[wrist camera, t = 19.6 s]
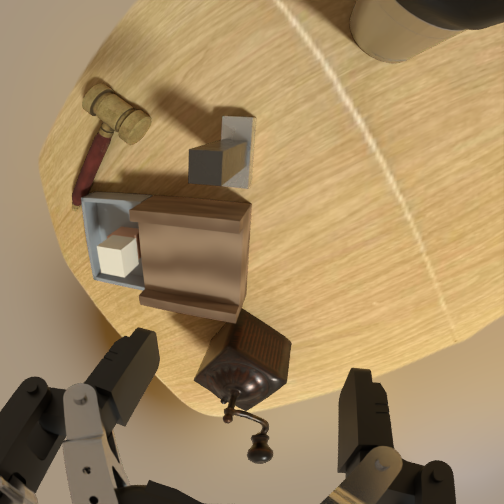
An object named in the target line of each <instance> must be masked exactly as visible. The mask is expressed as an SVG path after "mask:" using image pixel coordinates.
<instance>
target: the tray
mask: <svg viewBox="0 0 504 504" xmlns="http://www.w3.org/2000/svg"><path fill="white" fill-rule="evenodd" d="M152 196H153V195H147V194H132V193H115V192H96V191H94V192H92V193H90V194H88V195H86V196H84V197H81V202H82V210H83V218H84V226H85V233H86V239H87V246H88V252H89V257H90V263H91V268H92V273H93V278H94V280H97V281H102V282H106V283H111V284H115V285H120V286H124V287H129V288H134V289H139V290H144V289H145V284H144V276H143V267H142V258H140V259H139V260H138V262H139V264H138V265H137V266H136V267H135V268H134V269H133V270H132V271H131V272H130V273H129V274H128V275H127V276H126V277H125V278H124V277H119V276H115V275H110V274H105V273H101V269H100V263H99V257H98V251H97V246H98V245H99V244H100V243H102V242H103V241H105V240H106V239H107V236H108V235H110V234H111V233H113V232H114V231H115V230H117V229H118V228H120V227H129V228H138V229H139V226H138V222H131V221H130V215H129V210H130V209H131V208H133V207H135V206H136V205H138V204H140V203H142V202H143V201H145V200H147V199H148V198H150V197H152Z"/></svg>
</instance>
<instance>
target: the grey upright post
mask: <svg viewBox="0 0 504 504" xmlns="http://www.w3.org/2000/svg"><path fill="white" fill-rule="evenodd" d="M255 131H256V117H240V116H222V132H221V140H219V141H215V142H212V143H208V144H205V145H202V146H199V147H195V148H192V149H189V172H188V183H192V184H204V185H215V186H226V187H236V188H246V189H248V188H249V187H250V186H251V185H252V173H253V159H254V145H255Z"/></svg>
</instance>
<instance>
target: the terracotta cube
mask: <svg viewBox="0 0 504 504" xmlns="http://www.w3.org/2000/svg"><path fill="white" fill-rule="evenodd" d="M112 235H118V236H125V237H132V238H136V243H137V253H138V260H139V259H140V258H141V249H140V238H139V229H138V228H129V227H120V228H118V229H117V230H115V231H114V232H113V233H111V234H110V235H108V236H107V238H109V237H110V236H112Z"/></svg>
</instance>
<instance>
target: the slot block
mask: <svg viewBox="0 0 504 504" xmlns="http://www.w3.org/2000/svg"><path fill="white" fill-rule="evenodd" d="M251 207H252V204H248V203H239V202H229V201H219V200H208V199H197V198H186V197H174V196H161V195H154V196H152V197H150V198H148V199H147V200H145V201H143V202H142V203H140V204H138V205H136V206H135V207H133V208H131V209H130V210H129V215H130V221H131V222H138V226H139V238H140V249H141V258H142V267H143V276H144V284H145V289H144V290H143V292H142V293H141V294H140V295H139V300H140V305H144V306H149V307H153V308H158V309H163V310H167V311H172V312H177V313H182V314H187V315H192V316H197V317H203V318H208V319H213V320H219V321H225V322H230V323H236V321H237V318H238V316H239V313H240V310H241V308H242V305H243V302H244V300H245V297H246V290H247V273H248V256H249V240H250V223H251Z"/></svg>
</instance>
